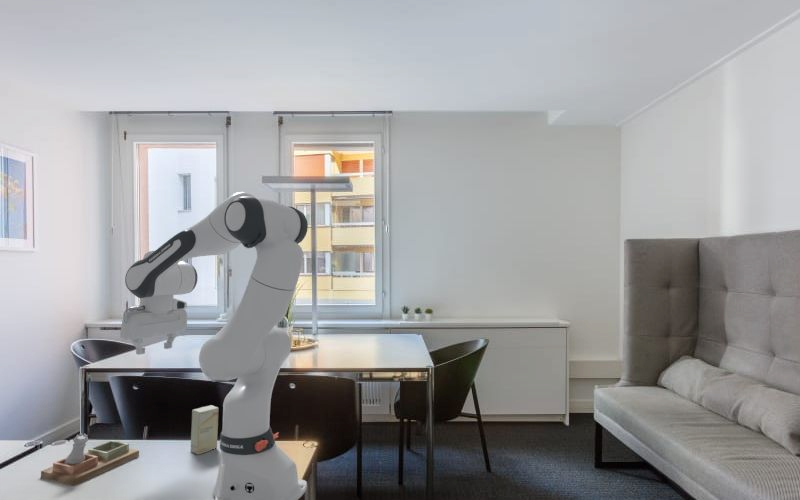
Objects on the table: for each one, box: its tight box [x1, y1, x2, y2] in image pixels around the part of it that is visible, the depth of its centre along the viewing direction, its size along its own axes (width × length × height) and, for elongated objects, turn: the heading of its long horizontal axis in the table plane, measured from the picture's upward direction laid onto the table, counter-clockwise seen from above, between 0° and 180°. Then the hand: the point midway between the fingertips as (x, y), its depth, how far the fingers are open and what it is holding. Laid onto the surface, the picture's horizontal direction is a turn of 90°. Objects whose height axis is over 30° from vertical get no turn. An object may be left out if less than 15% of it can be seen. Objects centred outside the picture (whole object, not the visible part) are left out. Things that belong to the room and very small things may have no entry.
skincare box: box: [190, 404, 219, 455], centre depth 128 cm, size 6×4×12 cm
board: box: [40, 439, 140, 486], centre depth 117 cm, size 12×18×4 cm, turn 161°
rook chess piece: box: [64, 433, 89, 466], centre depth 113 cm, size 4×4×8 cm
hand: (154, 351), depth 128 cm, fingers open, 8 cm apart
